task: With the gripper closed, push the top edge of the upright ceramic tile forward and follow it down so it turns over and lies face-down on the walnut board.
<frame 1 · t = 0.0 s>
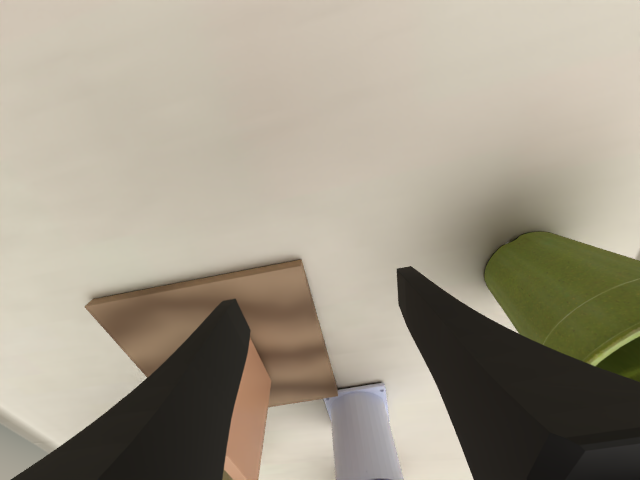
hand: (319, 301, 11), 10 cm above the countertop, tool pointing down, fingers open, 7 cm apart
plant pot 2: (518, 262, 23), on the countertop
board: (234, 350, 27), on the countertop
tile: (244, 403, 22), point 6 cm above the countertop, hinge at 0.0°
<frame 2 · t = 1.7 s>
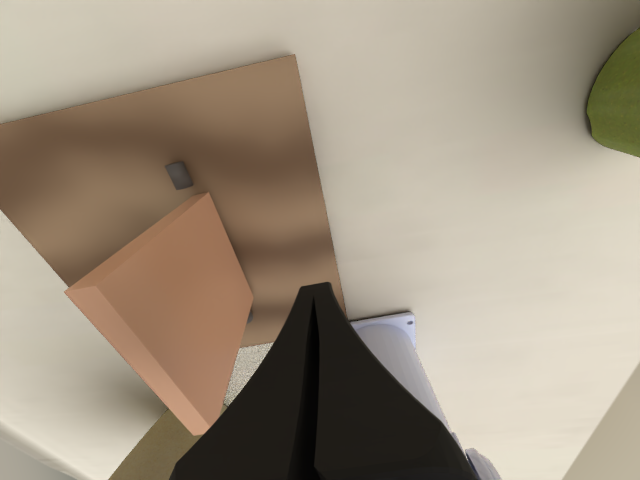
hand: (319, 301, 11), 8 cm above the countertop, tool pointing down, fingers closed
plant pot: (202, 411, 29), on the countertop
board: (198, 249, 18), on the countertop
tile: (200, 296, 13), point 6 cm above the countertop, hinge at 0.0°
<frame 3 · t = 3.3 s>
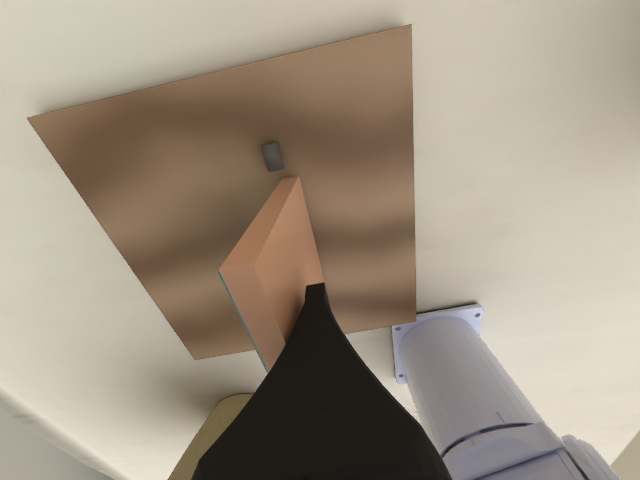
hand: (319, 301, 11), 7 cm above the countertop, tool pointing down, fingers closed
plant pot: (249, 408, 28), on the countertop
board: (271, 238, 18), on the countertop
tile: (296, 284, 12), point 6 cm above the countertop, hinge at 5.6°, touching gripper
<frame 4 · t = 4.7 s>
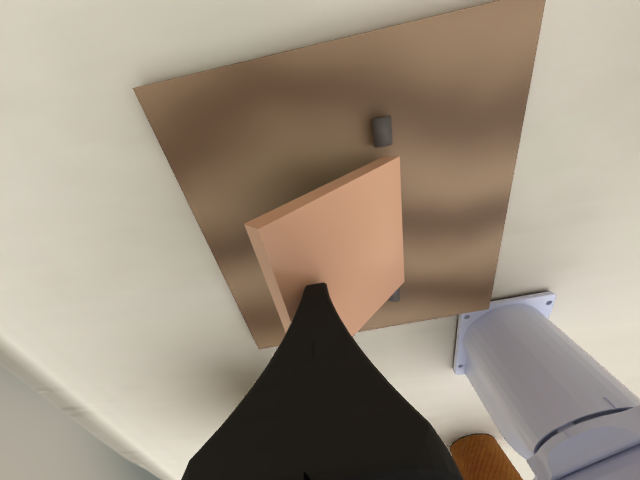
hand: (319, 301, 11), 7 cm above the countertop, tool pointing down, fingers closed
disposable coffee cup: (471, 443, 35), on the countertop
board: (354, 221, 17), on the countertop
tile: (348, 261, 13), point 5 cm above the countertop, hinge at 48.5°, touching gripper
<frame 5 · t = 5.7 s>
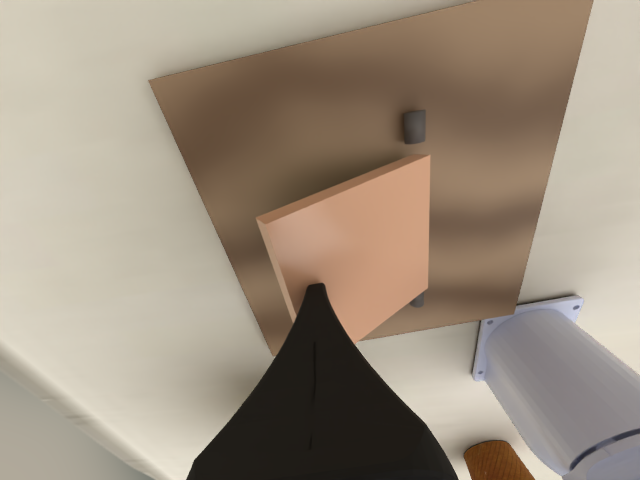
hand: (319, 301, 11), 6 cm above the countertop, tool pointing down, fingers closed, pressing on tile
disposable coffee cup: (485, 449, 34), on the countertop
board: (376, 222, 16), on the countertop
tile: (364, 261, 13), point 4 cm above the countertop, hinge at 59.2°, touching gripper
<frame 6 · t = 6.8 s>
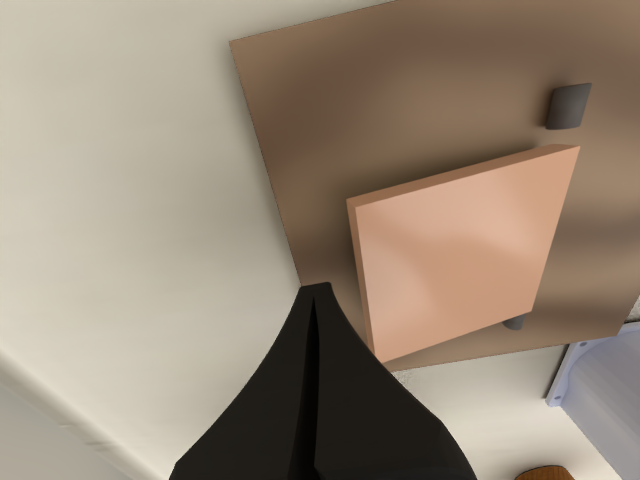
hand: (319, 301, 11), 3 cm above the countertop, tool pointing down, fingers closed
disposable coffee cup: (538, 474, 31), on the countertop
board: (475, 229, 13), on the countertop
tile: (454, 264, 11), point 3 cm above the countertop, hinge at 79.6°
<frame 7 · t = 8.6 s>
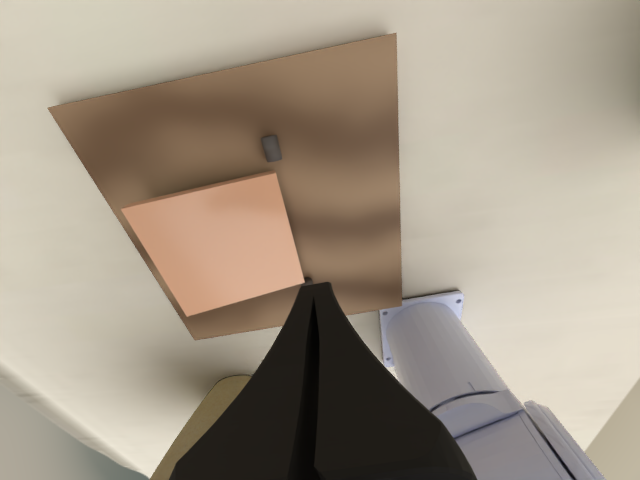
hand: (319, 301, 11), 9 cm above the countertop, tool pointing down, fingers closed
plant pot: (244, 390, 30), on the countertop
board: (268, 224, 19), on the countertop
tile: (228, 247, 17), point 3 cm above the countertop, hinge at 79.6°
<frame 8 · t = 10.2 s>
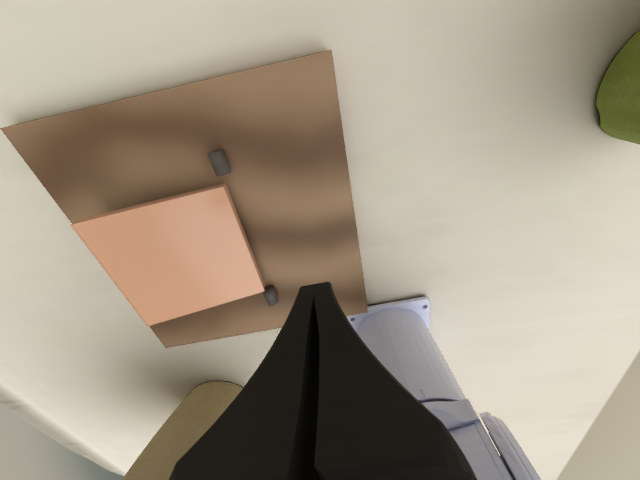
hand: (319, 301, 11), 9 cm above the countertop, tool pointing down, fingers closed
plant pot: (222, 395, 30), on the countertop
board: (228, 235, 20), on the countertop
tile: (184, 258, 17), point 3 cm above the countertop, hinge at 79.6°
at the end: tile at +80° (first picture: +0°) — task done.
